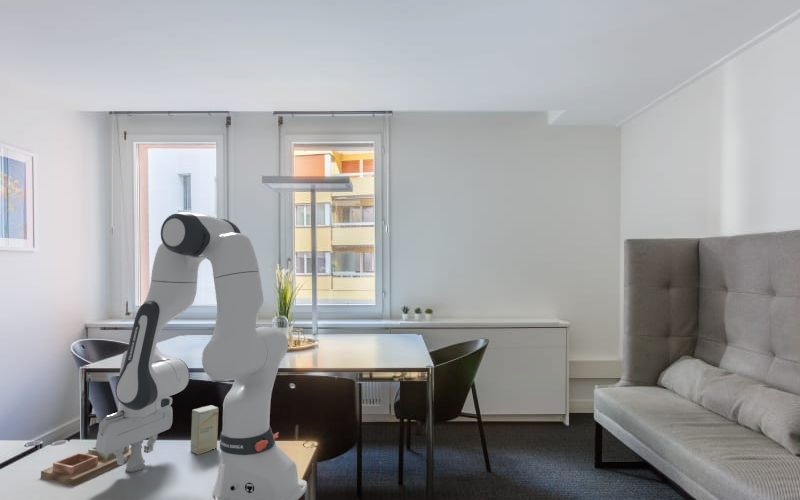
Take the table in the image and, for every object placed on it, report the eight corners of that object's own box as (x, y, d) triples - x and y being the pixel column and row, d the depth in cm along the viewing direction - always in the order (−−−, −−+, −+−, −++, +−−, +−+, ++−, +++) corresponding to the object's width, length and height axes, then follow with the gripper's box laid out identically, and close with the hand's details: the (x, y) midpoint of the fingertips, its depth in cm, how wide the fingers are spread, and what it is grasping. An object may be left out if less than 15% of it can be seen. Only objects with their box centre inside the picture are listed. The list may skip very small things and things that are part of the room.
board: (138, 455, 123) (139, 443, 123) (73, 485, 106) (73, 471, 106) (108, 449, 127) (109, 437, 127) (40, 477, 110) (41, 463, 110)
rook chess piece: (148, 465, 118) (149, 435, 118) (137, 473, 113) (138, 442, 114) (133, 464, 118) (134, 434, 118) (121, 472, 114) (122, 441, 114)
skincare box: (197, 455, 124) (198, 412, 125) (189, 451, 127) (191, 409, 127) (218, 448, 129) (219, 407, 130) (210, 444, 132) (211, 404, 132)
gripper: (109, 419, 106) (106, 477, 105) (177, 396, 125) (175, 445, 124) (90, 416, 108) (88, 472, 107) (160, 394, 127) (158, 441, 126)
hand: (135, 457), depth 116 cm, fingers open, 6 cm apart
